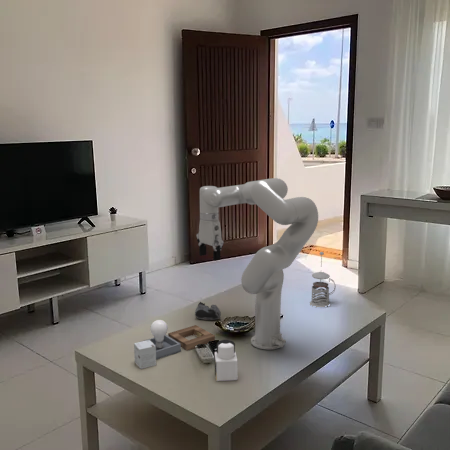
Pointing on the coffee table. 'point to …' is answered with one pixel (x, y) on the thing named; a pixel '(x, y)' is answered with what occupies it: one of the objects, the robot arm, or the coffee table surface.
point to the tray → (166, 347)
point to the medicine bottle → (226, 361)
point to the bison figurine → (207, 312)
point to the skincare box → (145, 354)
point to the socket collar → (201, 334)
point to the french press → (320, 300)
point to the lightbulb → (159, 332)
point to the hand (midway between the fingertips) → (209, 257)
